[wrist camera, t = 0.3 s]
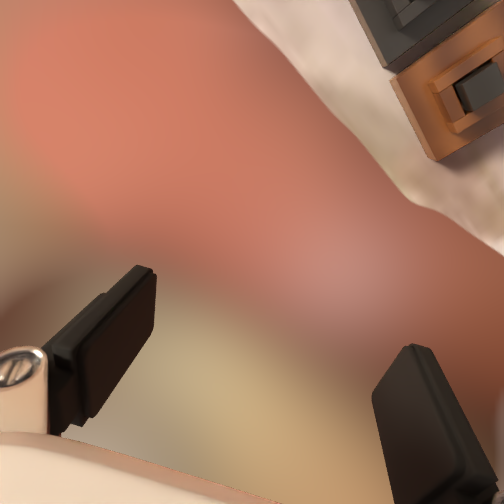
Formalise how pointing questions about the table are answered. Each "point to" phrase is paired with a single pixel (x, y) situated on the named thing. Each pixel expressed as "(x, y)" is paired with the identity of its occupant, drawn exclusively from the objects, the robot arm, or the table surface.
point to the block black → (401, 22)
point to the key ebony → (481, 87)
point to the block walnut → (453, 86)
